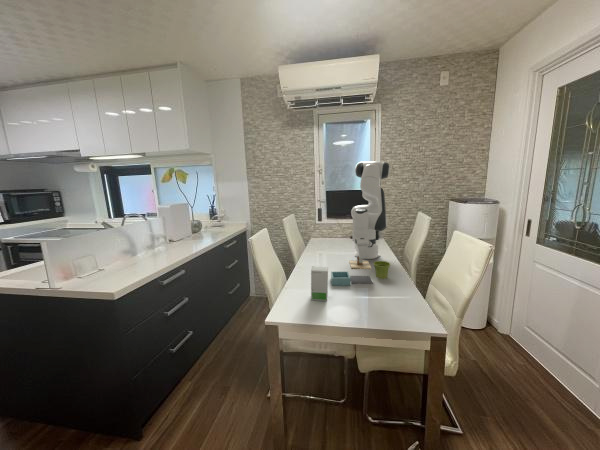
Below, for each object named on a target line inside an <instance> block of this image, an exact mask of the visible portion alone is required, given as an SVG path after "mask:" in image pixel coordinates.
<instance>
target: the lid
mask: <svg viewBox="0 0 600 450" xmlns="http://www.w3.org/2000/svg"><path fill="white" fill-rule="evenodd" d="M356 258H357V259H356V260H348V263H349V266H350V269H351V270H372V266H371V264H370V262H369V260H364V259H363V260H362V263H359V256H357V257H356Z"/></svg>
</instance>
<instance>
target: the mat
mask: <svg viewBox="0 0 600 450" xmlns="http://www.w3.org/2000/svg"><path fill="white" fill-rule="evenodd" d="M350 285H374V282H373V280H372V279H371V277H370V275H350Z"/></svg>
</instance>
